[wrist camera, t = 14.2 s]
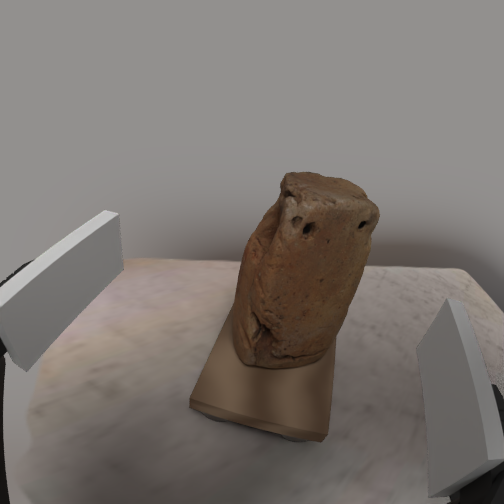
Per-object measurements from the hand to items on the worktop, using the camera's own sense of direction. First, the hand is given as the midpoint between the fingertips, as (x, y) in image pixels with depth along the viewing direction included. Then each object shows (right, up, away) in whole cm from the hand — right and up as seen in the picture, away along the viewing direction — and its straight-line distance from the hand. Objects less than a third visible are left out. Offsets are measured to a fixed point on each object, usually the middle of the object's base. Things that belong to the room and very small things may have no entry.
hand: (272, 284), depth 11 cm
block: (+2, -10, +24) cm, 26 cm away
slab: (+1, -15, +26) cm, 30 cm away
